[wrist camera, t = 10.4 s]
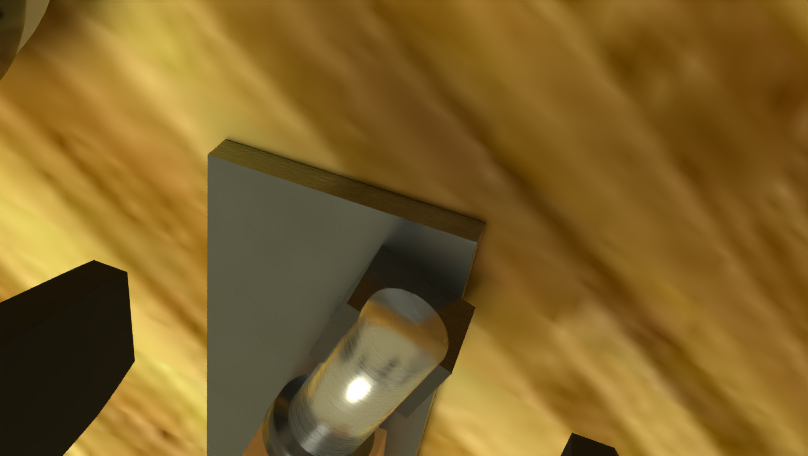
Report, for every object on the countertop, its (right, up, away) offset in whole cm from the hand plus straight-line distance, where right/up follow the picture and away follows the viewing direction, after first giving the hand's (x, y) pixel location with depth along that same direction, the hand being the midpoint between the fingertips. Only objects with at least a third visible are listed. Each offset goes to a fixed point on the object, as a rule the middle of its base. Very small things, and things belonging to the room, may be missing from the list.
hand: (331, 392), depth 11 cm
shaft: (+1, 0, +12) cm, 12 cm away
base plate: (-2, -5, +16) cm, 17 cm away
